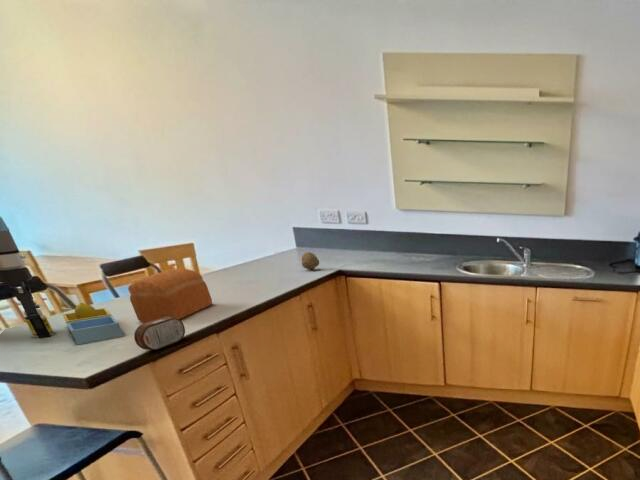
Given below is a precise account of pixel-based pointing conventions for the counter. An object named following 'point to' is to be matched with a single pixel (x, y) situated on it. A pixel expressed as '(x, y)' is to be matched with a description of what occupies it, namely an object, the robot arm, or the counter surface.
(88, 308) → the lemon
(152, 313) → the bread
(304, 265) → the natural sponge
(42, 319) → the supplement bottle
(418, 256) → the counter surface
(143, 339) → the tin
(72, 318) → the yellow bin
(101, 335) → the blue bin
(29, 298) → the robot arm
